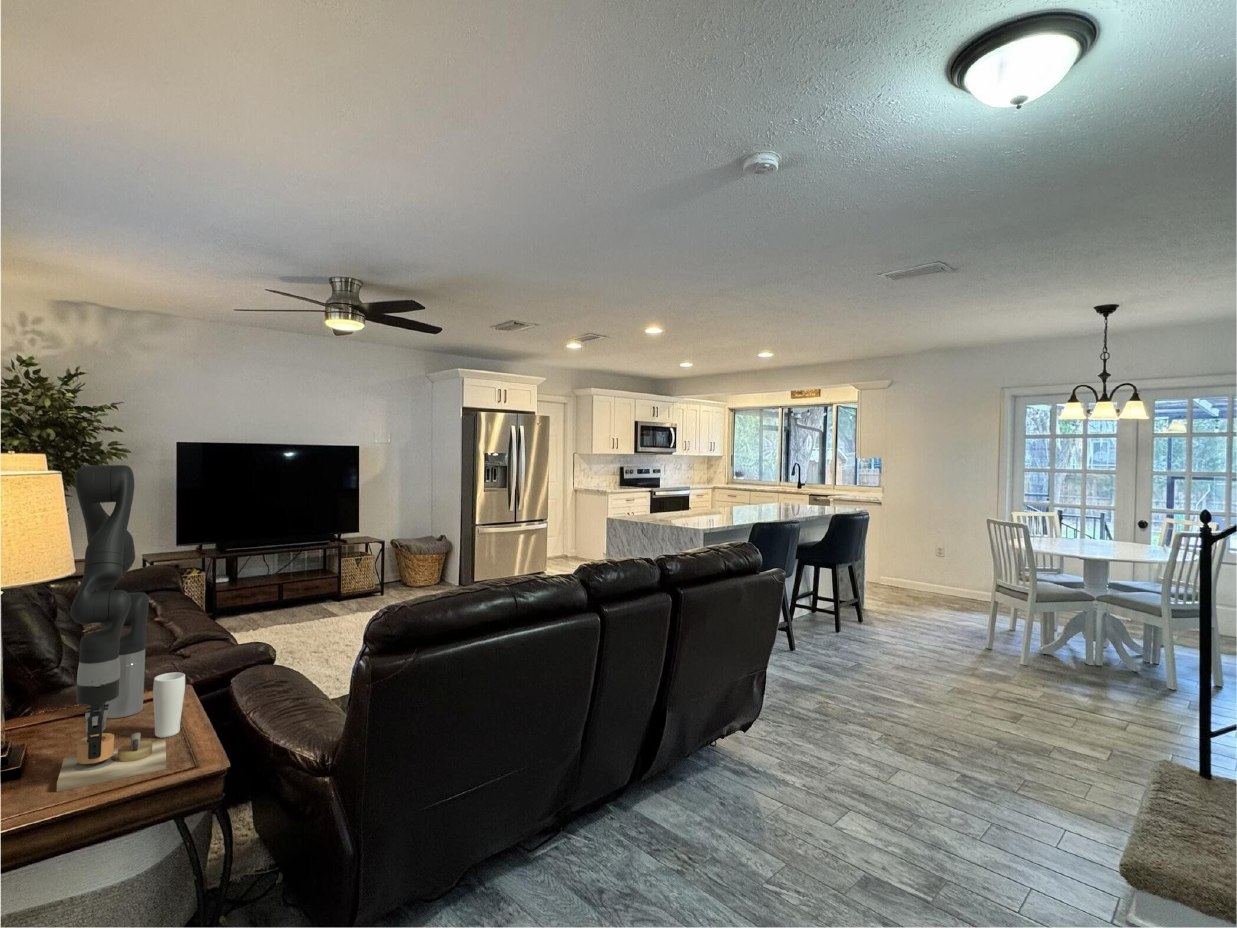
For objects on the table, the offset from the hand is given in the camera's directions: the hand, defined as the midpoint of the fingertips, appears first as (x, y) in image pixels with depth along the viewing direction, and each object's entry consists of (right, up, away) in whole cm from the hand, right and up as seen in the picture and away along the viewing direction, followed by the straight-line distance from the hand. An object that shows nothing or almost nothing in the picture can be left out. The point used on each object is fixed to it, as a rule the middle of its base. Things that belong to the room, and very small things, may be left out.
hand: (95, 751), depth 143 cm
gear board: (+3, -5, +2) cm, 6 cm away
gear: (0, -1, 0) cm, 1 cm away
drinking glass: (+2, -5, +20) cm, 21 cm away
